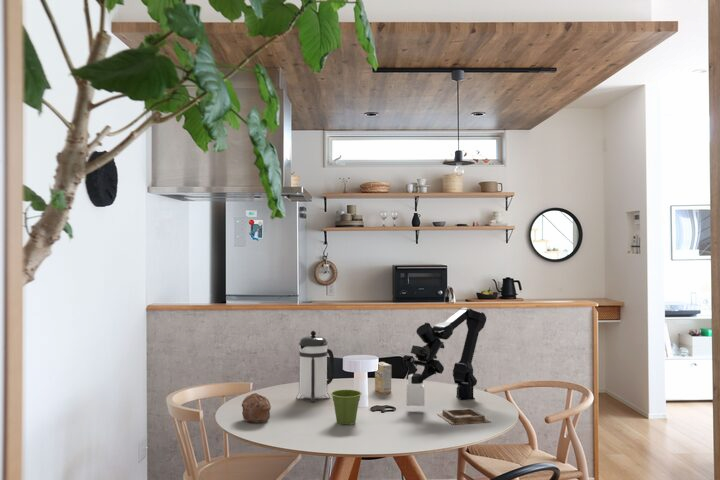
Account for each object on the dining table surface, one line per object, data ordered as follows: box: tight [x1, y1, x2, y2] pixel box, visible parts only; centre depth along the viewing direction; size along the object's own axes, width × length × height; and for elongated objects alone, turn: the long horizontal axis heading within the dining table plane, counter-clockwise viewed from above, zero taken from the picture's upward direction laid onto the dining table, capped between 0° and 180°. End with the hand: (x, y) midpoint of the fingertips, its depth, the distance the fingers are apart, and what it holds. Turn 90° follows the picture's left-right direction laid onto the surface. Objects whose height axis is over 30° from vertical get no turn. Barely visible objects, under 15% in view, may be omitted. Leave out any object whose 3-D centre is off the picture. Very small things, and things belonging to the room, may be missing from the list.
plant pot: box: [330, 389, 363, 425], centre depth 241 cm, size 12×12×11 cm
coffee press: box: [295, 330, 335, 404], centre depth 280 cm, size 17×16×30 cm
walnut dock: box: [436, 408, 492, 426], centre depth 247 cm, size 16×16×3 cm
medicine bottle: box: [406, 372, 425, 407], centre depth 258 cm, size 7×7×12 cm
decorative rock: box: [241, 392, 272, 424], centre depth 244 cm, size 13×11×10 cm
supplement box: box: [374, 361, 392, 395], centre depth 293 cm, size 8×5×13 cm, turn 25°
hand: (413, 380), depth 257 cm, fingers closed on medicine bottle, 6 cm apart
